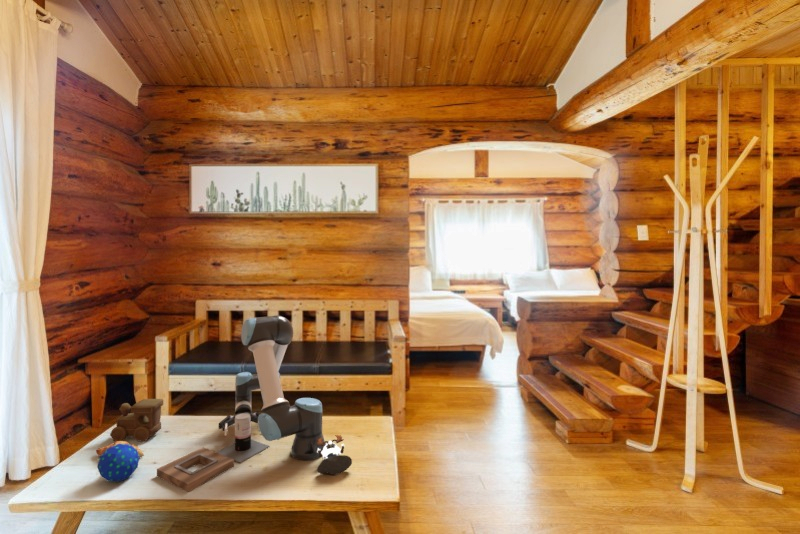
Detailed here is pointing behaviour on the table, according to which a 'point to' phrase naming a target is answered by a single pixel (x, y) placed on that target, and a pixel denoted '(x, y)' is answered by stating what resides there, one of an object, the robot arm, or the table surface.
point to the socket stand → (190, 480)
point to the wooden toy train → (138, 420)
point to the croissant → (103, 449)
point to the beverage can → (242, 432)
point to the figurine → (333, 457)
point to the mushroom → (118, 462)
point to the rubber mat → (242, 456)
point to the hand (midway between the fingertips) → (242, 430)
